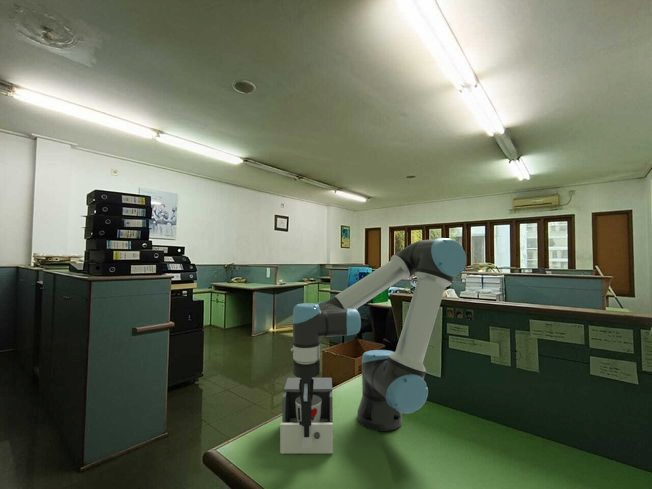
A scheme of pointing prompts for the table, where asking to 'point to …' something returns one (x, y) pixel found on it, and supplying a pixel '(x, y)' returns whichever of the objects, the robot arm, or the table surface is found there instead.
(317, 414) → the cup
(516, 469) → the table surface
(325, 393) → the housing
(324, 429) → the white drawer
